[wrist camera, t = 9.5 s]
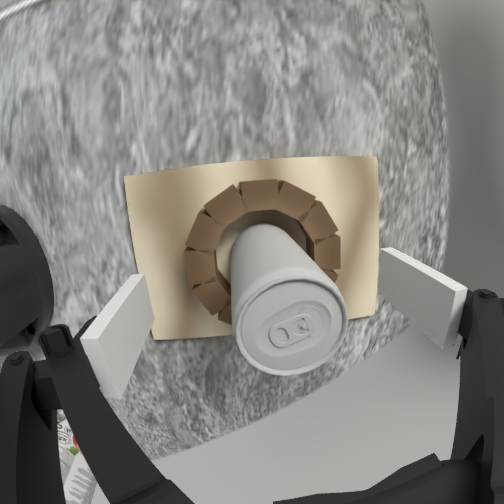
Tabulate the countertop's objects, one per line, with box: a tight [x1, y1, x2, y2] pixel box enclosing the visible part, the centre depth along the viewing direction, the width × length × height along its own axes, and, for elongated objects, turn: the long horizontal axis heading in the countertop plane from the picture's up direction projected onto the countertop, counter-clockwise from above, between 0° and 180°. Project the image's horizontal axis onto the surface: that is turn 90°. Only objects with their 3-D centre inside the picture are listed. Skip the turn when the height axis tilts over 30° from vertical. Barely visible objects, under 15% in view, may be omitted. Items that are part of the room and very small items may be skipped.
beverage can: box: [231, 223, 349, 376], centre depth 17 cm, size 5×5×12 cm
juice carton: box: [57, 419, 97, 504], centre depth 19 cm, size 8×9×19 cm
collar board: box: [124, 156, 379, 340], centre depth 22 cm, size 20×14×3 cm
